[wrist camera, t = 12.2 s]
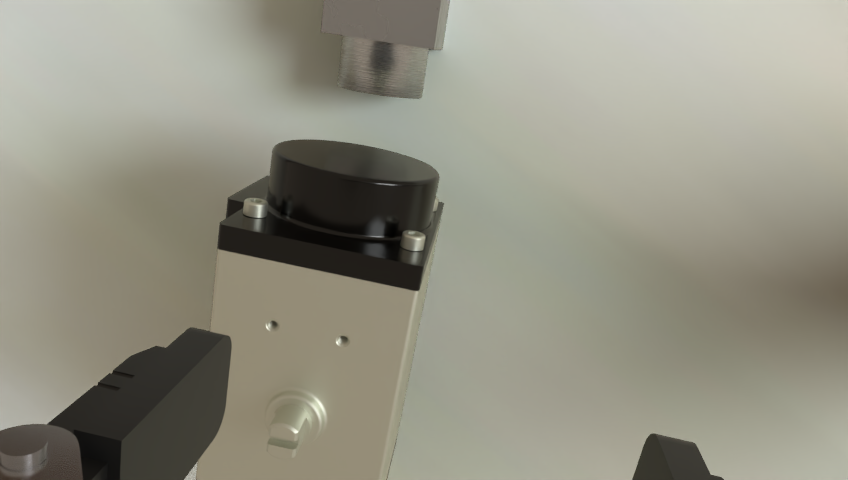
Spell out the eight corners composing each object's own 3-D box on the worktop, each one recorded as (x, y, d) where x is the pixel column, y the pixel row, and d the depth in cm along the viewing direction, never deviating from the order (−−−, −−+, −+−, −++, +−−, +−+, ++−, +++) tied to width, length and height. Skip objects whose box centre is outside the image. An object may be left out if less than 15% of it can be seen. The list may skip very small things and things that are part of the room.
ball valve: (313, 109, 37) (160, 160, 20) (459, 138, 36) (431, 216, 19) (277, 384, 42) (132, 610, 25) (404, 412, 42) (344, 660, 25)
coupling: (459, -60, 34) (453, -80, 28) (435, 95, 36) (426, 103, 31) (357, -75, 34) (333, -97, 29) (340, 80, 36) (315, 85, 31)
